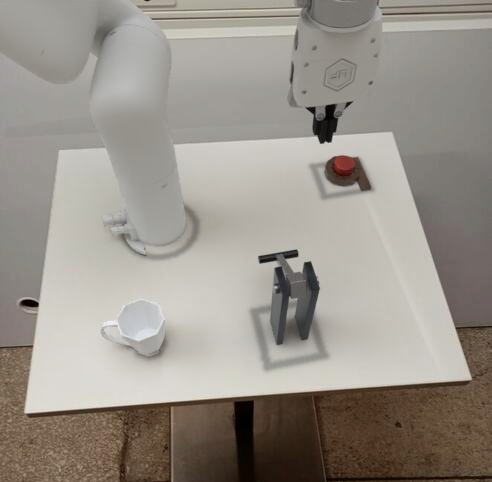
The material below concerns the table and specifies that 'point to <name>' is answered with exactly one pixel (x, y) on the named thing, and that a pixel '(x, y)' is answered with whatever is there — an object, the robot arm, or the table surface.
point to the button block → (357, 176)
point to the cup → (139, 326)
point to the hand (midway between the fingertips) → (323, 136)
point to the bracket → (304, 304)
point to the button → (344, 165)
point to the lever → (288, 272)
